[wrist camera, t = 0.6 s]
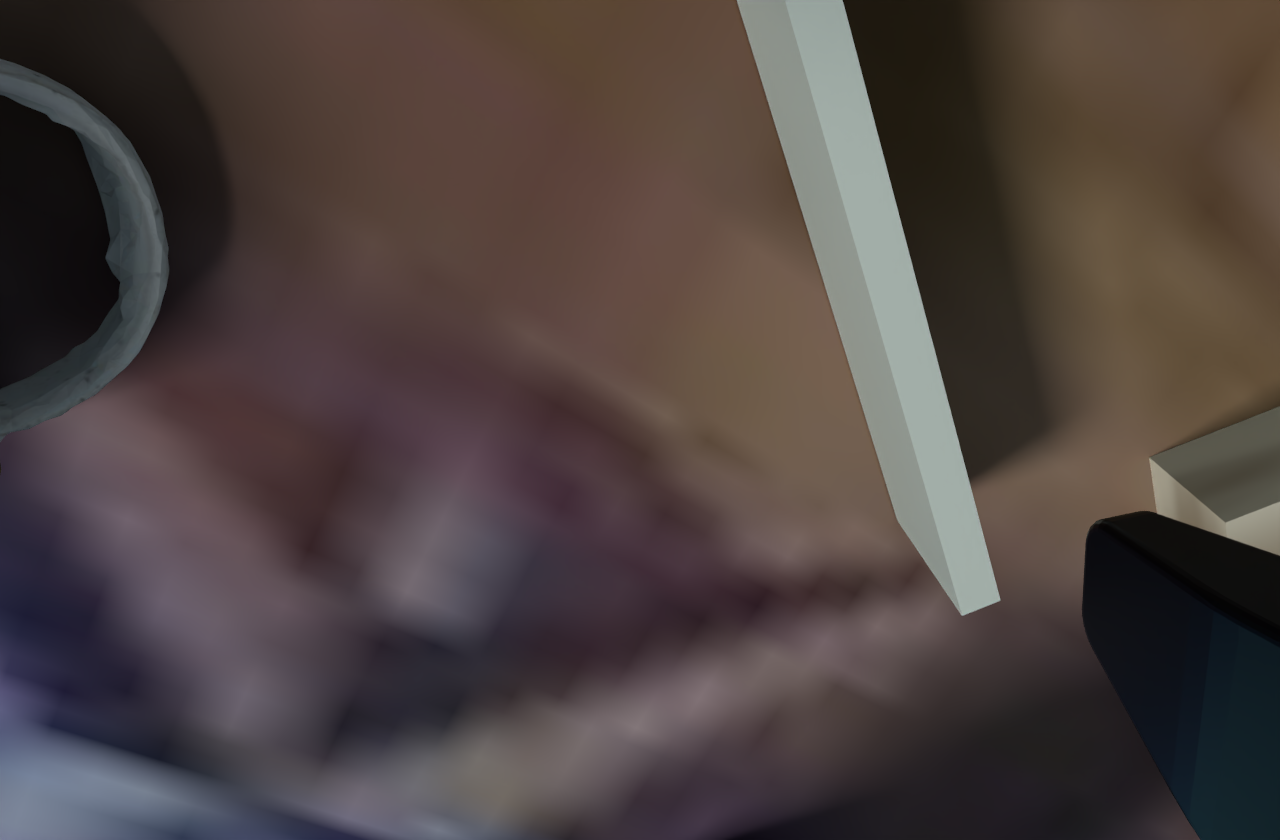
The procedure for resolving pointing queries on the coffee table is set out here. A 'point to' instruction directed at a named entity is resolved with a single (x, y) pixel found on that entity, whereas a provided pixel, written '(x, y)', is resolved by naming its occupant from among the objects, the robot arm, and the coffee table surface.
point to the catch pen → (870, 281)
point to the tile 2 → (1226, 482)
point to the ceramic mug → (129, 256)
